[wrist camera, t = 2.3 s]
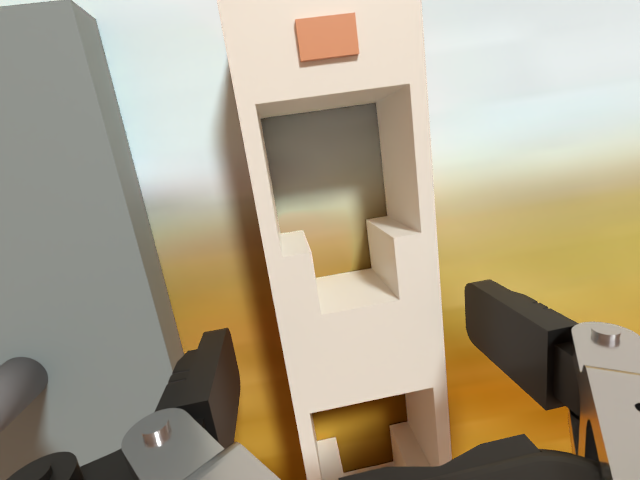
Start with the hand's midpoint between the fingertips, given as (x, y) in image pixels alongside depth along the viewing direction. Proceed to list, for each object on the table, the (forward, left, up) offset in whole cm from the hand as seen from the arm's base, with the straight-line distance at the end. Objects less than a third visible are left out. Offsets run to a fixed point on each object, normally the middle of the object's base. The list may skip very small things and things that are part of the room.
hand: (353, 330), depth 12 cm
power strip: (0, 0, -3) cm, 3 cm away
